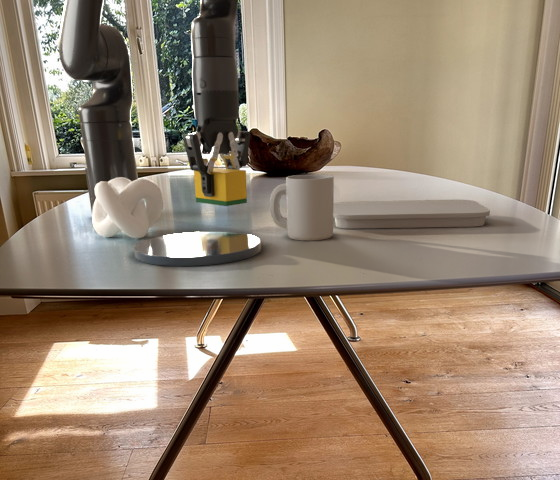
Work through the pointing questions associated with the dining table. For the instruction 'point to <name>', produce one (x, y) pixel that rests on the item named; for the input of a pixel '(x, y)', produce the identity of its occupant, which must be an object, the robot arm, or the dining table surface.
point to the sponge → (224, 187)
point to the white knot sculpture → (126, 207)
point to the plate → (197, 248)
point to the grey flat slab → (409, 214)
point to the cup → (305, 206)
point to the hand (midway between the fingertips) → (220, 194)
